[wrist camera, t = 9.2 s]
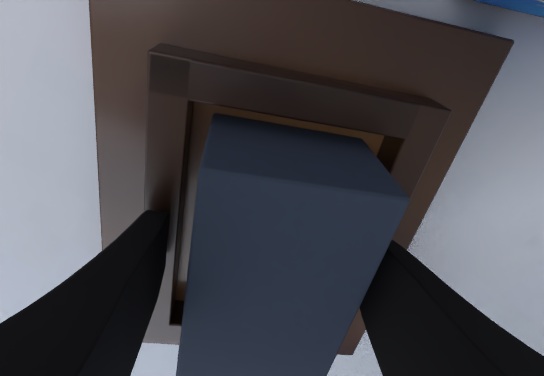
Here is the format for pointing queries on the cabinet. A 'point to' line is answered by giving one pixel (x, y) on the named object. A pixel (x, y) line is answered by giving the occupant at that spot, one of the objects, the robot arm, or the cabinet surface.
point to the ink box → (519, 5)
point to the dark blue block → (281, 248)
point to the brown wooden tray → (272, 102)
